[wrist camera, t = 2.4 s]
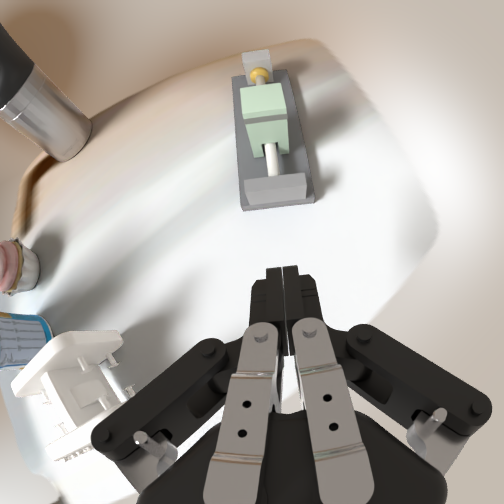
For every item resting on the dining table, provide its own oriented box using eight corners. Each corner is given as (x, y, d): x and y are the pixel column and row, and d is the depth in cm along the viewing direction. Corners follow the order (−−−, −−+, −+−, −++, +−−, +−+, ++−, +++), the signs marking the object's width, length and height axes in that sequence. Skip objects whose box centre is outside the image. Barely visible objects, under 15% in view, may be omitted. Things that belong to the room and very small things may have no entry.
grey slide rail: (314, 202, 31) (317, 179, 25) (243, 211, 32) (232, 189, 26) (287, 76, 36) (284, 47, 30) (233, 83, 37) (225, 55, 31)
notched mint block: (289, 153, 31) (286, 108, 23) (253, 158, 31) (241, 114, 23) (285, 128, 32) (281, 82, 24) (251, 133, 32) (239, 88, 24)
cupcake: (26, 312, 34) (-20, 306, 24) (12, 269, 36) (-30, 257, 27) (53, 275, 34) (3, 262, 25) (37, 232, 37) (-7, 214, 27)
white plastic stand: (129, 324, 31) (63, 323, 20) (178, 399, 28) (124, 432, 17) (66, 377, 31) (5, 386, 19) (104, 441, 28) (49, 468, 17)
